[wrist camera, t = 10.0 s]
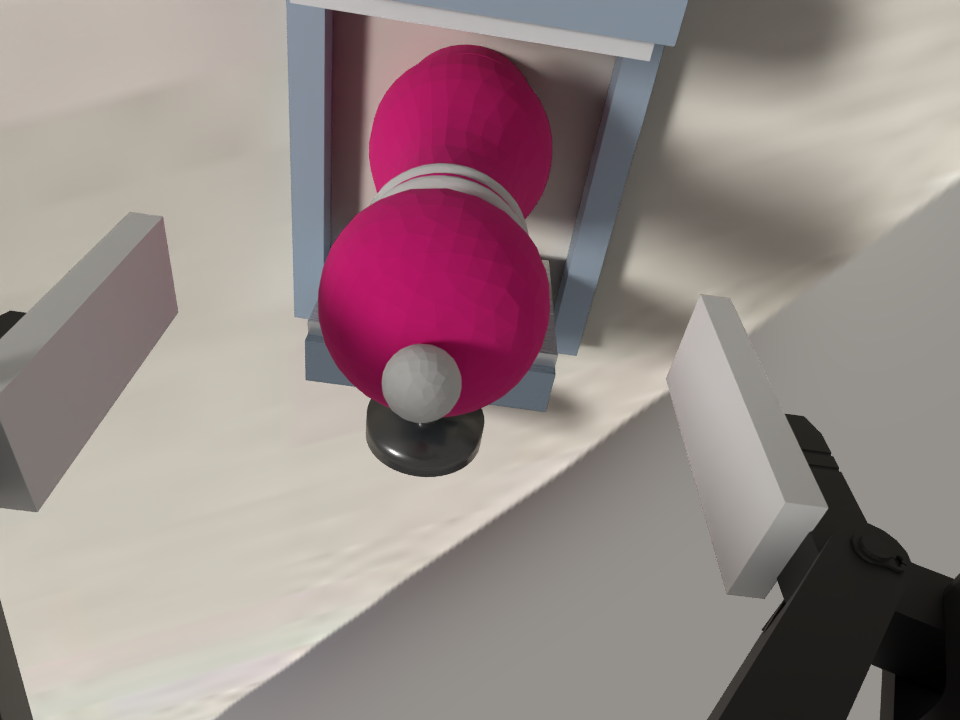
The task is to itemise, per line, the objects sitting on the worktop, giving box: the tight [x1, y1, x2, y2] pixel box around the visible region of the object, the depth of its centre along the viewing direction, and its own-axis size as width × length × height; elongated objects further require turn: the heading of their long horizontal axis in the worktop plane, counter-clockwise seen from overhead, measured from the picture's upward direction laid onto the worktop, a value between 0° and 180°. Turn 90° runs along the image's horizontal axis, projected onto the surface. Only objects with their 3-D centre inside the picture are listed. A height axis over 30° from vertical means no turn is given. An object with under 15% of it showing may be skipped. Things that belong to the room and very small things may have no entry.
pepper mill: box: [318, 45, 552, 423], centre depth 22 cm, size 7×7×20 cm
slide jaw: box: [305, 260, 558, 477], centre depth 33 cm, size 9×10×9 cm
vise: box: [286, 0, 688, 356], centre depth 27 cm, size 20×15×9 cm
